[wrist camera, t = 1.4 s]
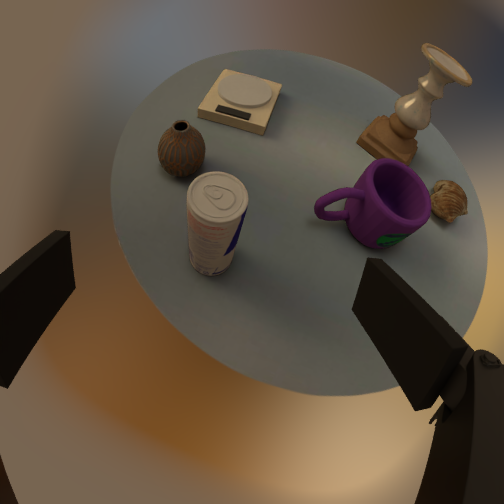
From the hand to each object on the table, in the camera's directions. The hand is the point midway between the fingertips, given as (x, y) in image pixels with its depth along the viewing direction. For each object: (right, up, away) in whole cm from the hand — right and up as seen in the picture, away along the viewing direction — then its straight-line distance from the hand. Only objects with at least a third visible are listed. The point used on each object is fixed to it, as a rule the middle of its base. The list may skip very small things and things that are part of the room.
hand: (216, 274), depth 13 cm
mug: (+17, +6, +34) cm, 39 cm away
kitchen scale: (0, +29, +40) cm, 49 cm away
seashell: (+38, +9, +39) cm, 56 cm away
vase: (-9, +14, +33) cm, 37 cm away
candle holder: (+29, +22, +43) cm, 56 cm away
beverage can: (-4, 0, +28) cm, 28 cm away
